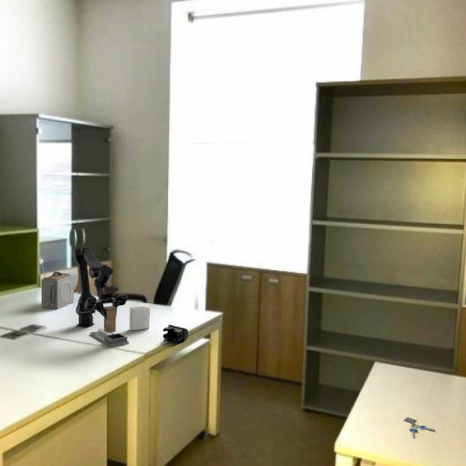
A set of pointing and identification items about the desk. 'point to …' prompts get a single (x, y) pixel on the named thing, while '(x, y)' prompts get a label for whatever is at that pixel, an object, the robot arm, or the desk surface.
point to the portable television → (58, 289)
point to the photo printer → (139, 317)
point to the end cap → (175, 334)
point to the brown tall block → (110, 319)
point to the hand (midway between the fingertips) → (111, 317)
